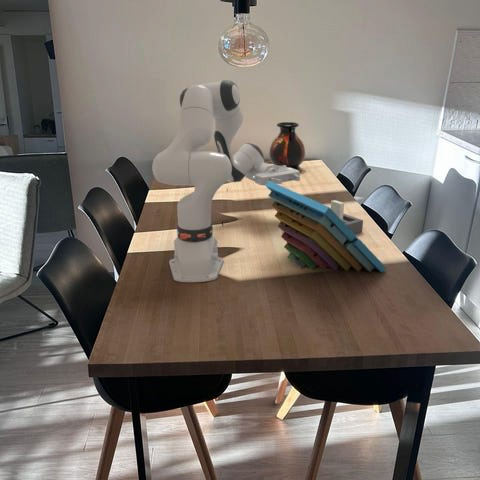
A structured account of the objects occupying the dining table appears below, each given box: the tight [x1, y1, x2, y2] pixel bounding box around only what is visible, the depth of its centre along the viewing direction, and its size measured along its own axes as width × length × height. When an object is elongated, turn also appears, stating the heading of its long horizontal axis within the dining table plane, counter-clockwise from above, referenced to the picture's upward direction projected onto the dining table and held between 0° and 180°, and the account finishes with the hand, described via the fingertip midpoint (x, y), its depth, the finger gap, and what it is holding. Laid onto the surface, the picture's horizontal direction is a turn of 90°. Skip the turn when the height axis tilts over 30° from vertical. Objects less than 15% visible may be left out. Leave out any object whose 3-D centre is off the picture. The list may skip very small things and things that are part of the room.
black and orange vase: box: [268, 121, 306, 172], centre depth 292 cm, size 22×22×28 cm
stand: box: [343, 213, 364, 235], centre depth 196 cm, size 11×19×5 cm, turn 125°
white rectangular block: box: [330, 199, 345, 221], centre depth 195 cm, size 5×2×12 cm, turn 35°
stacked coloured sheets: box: [264, 181, 387, 274], centre depth 167 cm, size 35×18×35 cm
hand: (289, 180), depth 198 cm, fingers open, 8 cm apart
